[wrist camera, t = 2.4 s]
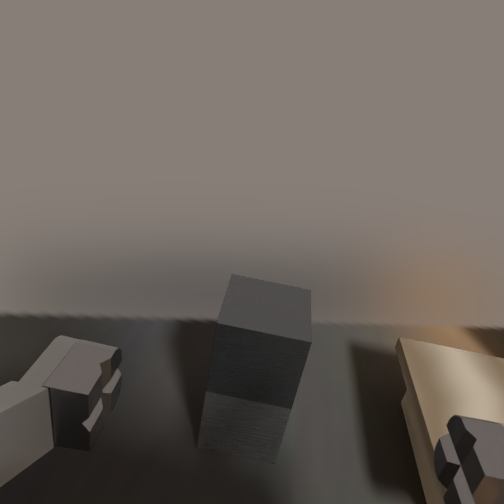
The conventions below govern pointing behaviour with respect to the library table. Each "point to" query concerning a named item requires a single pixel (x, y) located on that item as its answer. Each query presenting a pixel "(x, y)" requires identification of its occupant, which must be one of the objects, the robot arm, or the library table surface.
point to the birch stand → (445, 398)
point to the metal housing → (255, 368)
